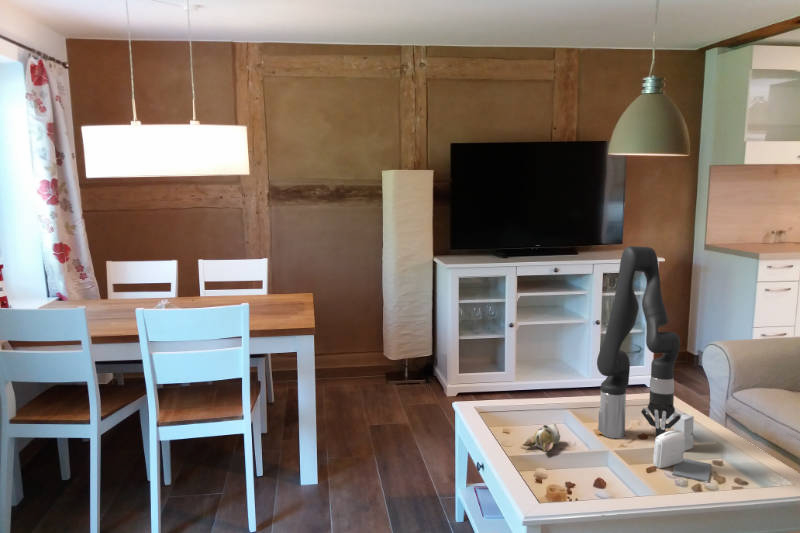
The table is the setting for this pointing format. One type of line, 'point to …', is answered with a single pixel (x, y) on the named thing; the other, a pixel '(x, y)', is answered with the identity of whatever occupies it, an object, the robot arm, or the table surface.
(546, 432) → the ceramic sculpture
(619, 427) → the robot arm
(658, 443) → the photo printer
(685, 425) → the skincare box
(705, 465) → the mat
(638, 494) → the table surface
